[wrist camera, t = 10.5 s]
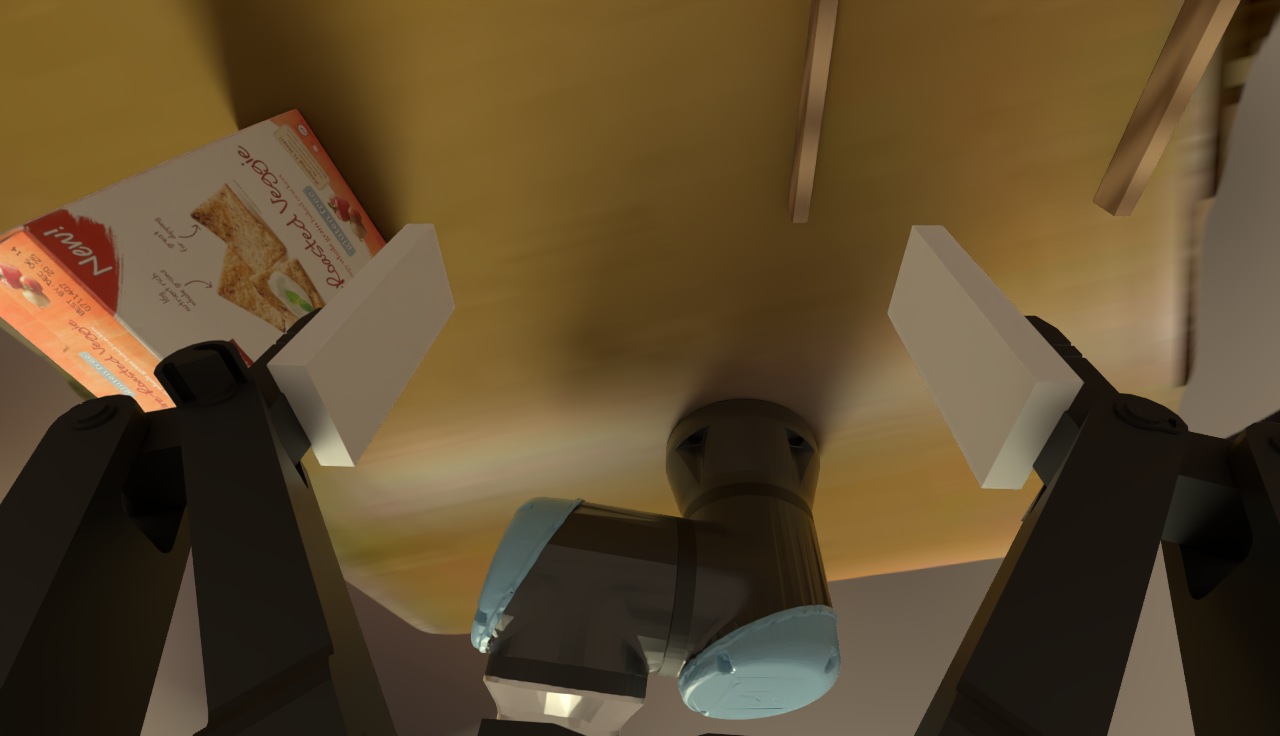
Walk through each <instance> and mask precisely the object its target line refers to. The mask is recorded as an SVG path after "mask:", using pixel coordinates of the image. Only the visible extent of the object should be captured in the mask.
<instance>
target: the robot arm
mask: <svg viewBox="0 0 1280 736" xmlns="http://www.w3.org/2000/svg"><path fill="white" fill-rule="evenodd" d="M454 309H455V304H454V301H453V297H452V293H451V289H450V285H449V282H448V278H447V274H446V270H445V266H444V263H443V259H442V255H441V251H440V247H439V244H438V240H437V236H436V232H435V228H434V225H433V224H406V225H405V226H404V227H403V228H402V229H401V230H400V231H399V232H398V233H397V234H396V235H395V236H394V237H393V238H392V239H391V240H390V241H389V242H388V243H387V244H386V245H385V246H384V247H383V248H382V249H381V250H380V251H379V252H378V253H377V254H376V255H375V256H374V257H373V258H372V259H371V260H370V261H369V262H368V263H367V264H366V265H365V266H364V267H363V268H362V269H361V270H360V271H359V272H358V273H357V274H356V275H355V276H354V277H353V278H352V279H351V280H350V281H349V282H348V283H347V284H346V285H345V286H344V287H343V288H342V289H341V290H340V291H339V292H338V293H337V294H336V295H335V296H334V297H333V298H332V299H331V300H330V301H329V303H328V304H327V305H326V306H325V307H319V308H317V309H315V310H314V311H312V312H310V313H308V314H307V315H305V316H303V317H301V318H300V319H298V320H297V321H296V322H295V323H294V324H293V325H292V326H291V327H290V328H289V329H288V330H287V331H286V332H287V334H283V335H282V336H281V337H280V338H279V339H278V340H277V341H276V344H273V345H272V346H271V347H270V348H269V349H268V350H267V351H265V352H264V353H263V354H262V355H261V356H260V357H259V358H258V359H257V360H256V361H255V362H254V363H253V364H252V365H251V366H250V367H249V368H248V367H247V365H246V363H245V362H244V360H243V358H242V356H241V355H240V353H239V351H238V349H237V348H236V346H235V345H234V344H233V343H232V342H228V341H224V340H213V341H205V342H201V343H196V344H192V345H190V346H187V347H185V348H182V349H179V350H177V351H176V352H174V353H172V354H170V355H169V356H167V357H165V358H164V359H163V360H162V361H161V362H160V363H159V364H158V365H157V366H156V368H155V370H154V373H153V374H154V375H155V377H156V378H157V380H158V381H159V382H160V384H161V385H162V387H163V388H164V390H165V391H166V392H167V394H168V395H169V397H170V398H171V399H172V401H173V402H174V404H175V405H176V407H172V408H167V409H161V410H156V411H150V412H144V410H143V409H142V408H141V406H140V405H139V404H138V402H137V401H136V400H135V399H134V398H133V397H131V396H130V395H123V394H116V395H108V396H103V397H100V398H96V399H90V400H87V401H85V402H82V403H83V404H78V405H76V406H74V407H72V408H71V409H70V410H69V411H67V412H66V413H64V414H63V415H61V416H60V417H58V419H57V420H56V421H55V422H54V423H53V424H52V425H51V426H50V427H49V429H48V430H47V432H46V434H45V435H44V437H43V438H42V440H41V441H40V443H39V444H38V446H37V448H36V449H35V451H34V452H33V454H32V456H31V457H30V459H29V460H28V462H27V463H26V465H25V466H24V468H23V470H22V471H21V473H20V474H19V476H18V477H17V479H16V481H15V482H14V484H13V485H12V487H11V488H10V490H9V492H8V493H7V495H6V497H5V498H4V499H3V501H2V503H1V504H0V736H140V734H141V730H142V727H143V723H144V719H145V715H146V712H147V708H148V704H149V701H150V696H151V693H152V689H153V686H154V682H155V678H156V675H157V671H158V667H159V663H160V659H161V656H162V652H163V648H164V645H165V641H166V637H167V634H168V630H169V626H170V623H171V619H172V615H173V611H174V608H175V603H176V600H177V597H178V593H179V589H180V585H181V582H182V578H183V574H184V571H185V567H186V563H187V559H188V556H189V552H190V548H191V547H192V556H193V566H194V577H195V586H196V596H197V606H198V616H199V626H200V636H201V646H202V655H203V664H204V675H205V685H206V694H207V705H208V724H207V726H206V727H205V728H203V729H202V730H200V731H198V732H197V733H195V734H193V736H398V735H397V733H396V730H395V728H394V724H393V722H392V719H391V716H390V713H389V710H388V707H387V704H386V701H385V698H384V695H383V692H382V690H381V687H380V684H379V681H378V678H377V675H376V672H375V669H374V666H373V663H372V660H371V657H370V654H369V652H368V648H367V646H366V643H365V640H364V637H363V634H362V631H361V628H360V625H359V622H358V619H357V616H356V613H355V610H354V608H353V605H352V602H351V599H350V596H349V593H348V591H347V588H346V584H345V581H344V578H343V575H342V572H341V570H340V567H339V564H338V561H337V558H336V555H335V552H334V549H333V546H332V543H331V540H330V537H329V534H328V532H327V529H326V526H325V523H324V520H323V517H322V514H321V511H320V508H319V505H318V502H317V499H316V496H315V494H314V491H313V488H312V485H311V482H310V479H309V476H308V473H307V470H306V469H305V467H304V465H303V463H302V462H301V460H300V459H301V458H302V457H303V455H304V454H305V453H306V451H307V450H308V449H309V447H310V446H311V448H312V450H313V452H314V453H315V455H316V457H317V459H318V461H319V463H320V464H321V465H324V466H353V467H355V465H356V464H357V462H358V461H359V459H360V457H361V456H362V454H363V453H364V451H365V450H366V448H367V446H368V445H369V443H370V442H371V440H372V438H373V437H374V435H375V434H376V432H377V431H378V429H379V427H380V426H381V424H382V423H383V421H384V420H385V418H386V416H387V415H388V413H389V412H390V410H391V409H392V407H393V405H394V404H395V402H396V401H397V399H398V398H399V396H400V394H401V393H402V391H403V390H404V388H405V386H406V385H407V383H408V382H409V380H410V379H411V377H412V375H413V374H414V372H415V371H416V369H417V368H418V366H419V364H420V363H421V361H422V360H423V358H424V357H425V355H426V353H427V352H428V350H429V349H430V347H431V346H432V344H433V342H434V341H435V339H436V338H437V336H438V334H439V333H440V331H441V330H442V328H443V327H444V325H445V323H446V322H447V320H448V319H449V317H450V316H451V314H452V312H453V311H454ZM887 314H888V316H889V318H890V320H891V322H892V324H893V326H894V327H895V329H896V331H897V333H898V335H899V337H900V339H901V340H902V342H903V344H904V346H905V348H906V350H907V352H908V353H909V355H910V357H911V359H912V361H913V363H914V365H915V366H916V368H917V370H918V372H919V374H920V376H921V378H922V379H923V381H924V383H925V385H926V387H927V389H928V391H929V392H930V394H931V396H932V398H933V400H934V402H935V403H936V405H937V407H938V409H939V411H940V413H941V415H942V416H943V418H944V420H945V422H946V424H947V426H948V428H949V429H950V431H951V433H952V435H953V437H954V439H955V441H956V442H957V444H958V446H959V448H960V450H961V452H962V454H963V455H964V457H965V459H966V461H967V463H968V465H969V467H970V468H971V470H972V472H973V474H974V476H975V478H976V479H977V481H978V483H979V485H980V487H981V488H993V489H1021V488H1022V487H1023V485H1024V483H1025V482H1026V480H1027V478H1028V476H1029V475H1030V473H1031V471H1032V470H1033V468H1034V469H1035V471H1036V472H1037V474H1038V475H1039V477H1040V478H1041V480H1042V481H1043V483H1044V485H1043V486H1042V488H1041V490H1040V491H1039V493H1038V494H1037V496H1036V498H1035V499H1034V501H1033V503H1032V504H1031V506H1030V507H1029V509H1028V511H1027V512H1026V514H1025V515H1024V517H1023V519H1022V520H1021V521H1023V523H1022V525H1021V527H1020V529H1019V531H1018V533H1017V535H1016V537H1015V539H1014V541H1013V543H1012V545H1011V547H1010V549H1009V551H1008V553H1007V555H1006V557H1005V559H1004V561H1003V563H1002V565H1001V567H1000V569H999V570H998V573H997V574H996V576H995V578H994V581H993V582H992V584H991V586H990V588H989V590H988V592H987V594H986V596H985V598H984V600H983V602H982V604H981V606H980V608H979V610H978V612H977V613H976V615H975V617H974V619H973V621H972V623H971V625H970V627H969V629H968V631H967V633H966V635H965V637H964V639H963V641H962V643H961V645H960V647H959V649H958V651H957V653H956V655H955V657H954V659H953V660H952V662H951V664H950V666H949V668H948V670H947V672H946V674H945V676H944V678H943V680H942V682H941V684H940V686H939V688H938V690H937V692H936V694H935V696H934V698H933V700H932V701H931V703H930V706H929V707H928V709H927V711H926V713H925V715H924V717H923V719H922V721H921V723H920V725H919V727H918V729H917V731H916V733H915V735H914V736H1107V734H1108V730H1109V726H1110V723H1111V719H1112V716H1113V712H1114V708H1115V705H1116V701H1117V697H1118V693H1119V690H1120V686H1121V683H1122V679H1123V675H1124V672H1125V668H1126V664H1127V661H1128V657H1129V653H1130V650H1131V646H1132V643H1133V639H1134V635H1135V632H1136V628H1137V624H1138V620H1139V617H1140V613H1141V610H1142V606H1143V602H1144V599H1145V595H1146V591H1147V588H1148V584H1149V580H1150V577H1151V573H1152V569H1153V566H1154V562H1155V559H1156V555H1157V551H1158V548H1159V544H1160V540H1161V544H1162V550H1163V556H1164V561H1165V567H1166V572H1167V578H1168V584H1169V590H1170V595H1171V601H1172V607H1173V612H1174V618H1175V624H1176V629H1177V635H1178V640H1179V647H1180V652H1181V658H1182V663H1183V669H1184V675H1185V681H1186V686H1187V692H1188V697H1189V703H1190V709H1191V715H1192V721H1193V726H1194V732H1195V736H1280V424H1279V423H1273V422H1258V423H1253V424H1251V425H1250V426H1248V427H1246V428H1245V429H1244V431H1243V432H1242V433H1241V434H1240V435H1239V436H1238V437H1237V439H1236V440H1235V441H1232V440H1227V439H1223V438H1218V437H1213V436H1208V435H1204V434H1199V433H1194V432H1190V431H1188V426H1187V425H1186V424H1185V423H1184V421H1183V420H1182V419H1181V418H1180V417H1179V416H1178V415H1177V414H1175V413H1174V412H1172V411H1171V410H1169V409H1168V408H1166V407H1165V406H1163V405H1161V404H1158V403H1156V402H1154V401H1152V400H1149V399H1147V398H1143V397H1139V396H1136V395H1132V394H1123V393H1119V392H1118V391H1117V390H1116V389H1115V388H1114V387H1113V386H1112V385H1111V384H1110V383H1109V382H1108V381H1107V380H1106V379H1105V378H1104V377H1103V376H1102V375H1101V374H1100V373H1099V371H1098V370H1097V369H1096V368H1095V367H1094V366H1093V365H1092V364H1091V363H1090V362H1089V361H1088V360H1087V359H1086V358H1082V354H1081V353H1080V352H1079V351H1078V350H1077V349H1076V348H1075V346H1071V342H1070V341H1069V340H1068V339H1067V338H1066V337H1065V336H1064V335H1063V334H1062V333H1061V332H1060V331H1059V330H1058V329H1057V328H1055V327H1054V326H1052V325H1050V324H1049V323H1047V322H1045V321H1044V320H1042V319H1040V318H1038V317H1037V316H1024V315H1023V314H1022V313H1021V312H1020V311H1019V310H1018V309H1017V308H1016V307H1015V305H1014V304H1013V303H1012V302H1011V301H1010V300H1009V299H1008V298H1007V297H1006V295H1005V294H1004V293H1003V292H1002V291H1001V290H1000V289H999V288H998V287H997V286H996V284H995V283H994V282H993V281H992V280H991V279H990V278H989V277H988V276H987V274H986V273H985V272H984V271H983V270H982V269H981V268H980V267H979V266H978V264H977V263H976V262H975V261H974V260H973V259H972V258H971V257H970V256H969V255H968V253H967V252H966V251H965V250H964V249H963V248H962V247H961V246H960V245H959V243H958V242H957V241H956V240H955V239H954V238H953V237H952V236H951V235H950V233H949V232H948V231H947V230H946V229H945V228H944V227H943V226H942V225H912V229H911V232H910V236H909V239H908V243H907V246H906V250H905V253H904V257H903V260H902V264H901V267H900V271H899V274H898V278H897V281H896V285H895V288H894V292H893V295H892V299H891V302H890V306H889V309H888V313H887ZM819 469H820V459H819V453H818V449H817V445H816V441H815V438H814V435H813V433H812V431H811V429H810V428H809V426H808V425H807V424H806V423H805V422H804V421H803V420H802V419H801V418H800V417H799V416H798V415H796V414H795V413H793V412H792V411H790V410H788V409H786V408H784V407H781V406H779V405H776V404H773V403H769V402H765V401H759V400H745V399H744V400H730V401H723V402H719V403H715V404H712V405H709V406H706V407H704V408H701V409H699V410H697V411H695V412H694V413H692V414H690V415H689V416H688V417H686V418H685V419H684V420H683V421H681V422H680V423H679V424H678V426H677V427H676V428H675V429H674V431H673V432H672V434H671V436H670V438H669V441H668V444H667V449H666V473H667V478H668V481H669V484H670V486H671V489H672V492H673V494H674V497H675V499H676V502H677V505H678V507H679V510H680V513H681V515H682V518H679V517H674V516H668V515H662V514H656V513H649V512H643V511H637V510H631V509H625V508H619V507H613V506H607V505H601V504H595V503H589V502H585V500H584V499H580V498H579V499H576V500H567V499H558V498H549V497H536V498H533V499H531V500H529V501H527V502H525V503H524V504H523V505H522V506H521V507H520V508H519V509H518V510H517V512H516V513H515V514H514V516H513V518H512V519H511V521H510V523H509V525H508V526H507V528H506V530H505V532H504V534H503V536H502V539H501V541H500V543H499V545H498V548H497V550H496V552H495V555H494V557H493V560H492V562H491V565H490V568H489V570H488V573H487V576H486V579H485V582H484V585H483V588H482V591H481V594H480V598H479V601H478V609H477V612H476V615H475V618H474V621H473V625H472V631H471V641H472V644H473V646H474V647H476V648H478V649H479V650H480V652H482V653H488V651H489V657H488V661H487V665H486V670H485V674H484V679H483V681H484V682H485V684H486V686H487V687H488V689H489V691H490V693H491V695H492V697H493V698H494V700H495V702H496V705H497V709H498V716H497V719H482V721H481V725H480V728H479V732H478V736H619V735H620V729H621V727H622V726H623V724H624V723H625V722H626V721H627V720H628V719H629V718H630V717H631V716H632V715H633V714H634V713H635V712H636V711H637V710H638V709H639V708H640V707H641V706H643V705H644V703H645V696H646V687H647V678H648V675H649V674H651V675H659V676H666V677H673V678H678V679H679V680H678V688H679V691H680V693H681V696H682V699H683V701H684V703H685V704H686V705H687V706H688V707H689V708H690V709H692V710H693V711H700V712H701V713H702V714H703V715H705V716H709V717H713V718H722V719H753V718H762V717H768V716H773V715H778V714H782V713H785V712H789V711H792V710H795V709H798V708H800V707H803V706H805V705H807V704H809V703H811V702H813V701H815V700H817V699H818V698H820V697H821V696H822V695H824V694H825V693H826V692H827V691H828V690H829V689H830V688H831V687H832V686H833V684H834V683H835V681H836V679H837V677H838V675H839V672H840V666H841V656H840V649H839V641H838V634H837V626H836V625H837V615H836V612H835V611H834V610H833V606H832V602H831V597H830V593H829V588H828V583H827V579H826V574H825V570H824V565H823V561H822V556H821V552H820V547H819V543H818V538H817V533H816V529H815V525H814V520H813V515H812V508H813V502H814V497H815V492H816V486H817V481H818V475H819ZM699 736H741V735H727V734H711V733H707V734H703V735H699Z"/></svg>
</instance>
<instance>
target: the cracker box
mask: <svg viewBox="0 0 1280 736" xmlns="http://www.w3.org/2000/svg"><path fill="white" fill-rule="evenodd" d="M385 245H386V242H385V241H384V239H383V238H382V237H381V235H380V234H379V232H378V231H377V229H376V227H375V226H374V224H373V223H372V221H371V220H370V219H369V217H368V215H367V214H366V212H365V211H364V209H363V208H362V206H361V205H360V203H359V202H358V200H357V199H356V197H355V196H354V194H353V193H352V191H351V189H350V188H349V186H348V185H347V183H346V182H345V180H344V179H343V177H342V176H341V174H340V173H339V171H338V170H337V168H336V167H335V165H334V164H333V162H332V161H331V159H330V158H329V156H328V155H327V153H326V152H325V150H324V148H323V147H322V145H321V144H320V143H319V141H318V139H317V138H316V136H315V135H314V133H313V132H312V130H311V129H310V127H309V126H308V124H307V122H306V121H305V120H304V118H303V117H302V115H301V114H300V112H299V111H298V110H297V109H293V110H291V111H288V112H285V113H283V114H280V115H278V116H275V117H272V118H270V119H267V120H265V121H262V122H260V123H257V124H254V125H252V126H249V127H247V128H245V129H242V130H240V131H237V132H235V133H233V134H230V135H228V136H225V137H223V138H221V139H218V140H216V141H214V142H211V143H209V144H206V145H204V146H202V147H199V148H197V149H194V150H192V151H189V152H187V153H185V154H182V155H180V156H178V157H175V158H173V159H171V160H168V161H166V162H163V163H161V164H159V165H157V166H154V167H152V168H150V169H147V170H145V171H143V172H140V173H138V174H136V175H133V176H131V177H129V178H126V179H124V180H122V181H119V182H117V183H114V184H112V185H110V186H108V187H105V188H103V189H101V190H99V191H97V192H94V193H92V194H90V195H87V196H85V197H83V198H81V199H78V200H76V201H74V202H71V203H69V204H67V205H65V206H62V207H60V208H58V209H55V210H53V211H51V212H49V213H46V214H44V215H42V216H39V217H37V218H35V219H32V220H30V221H28V222H26V223H23V224H21V225H19V226H17V227H15V228H13V229H11V230H8V231H6V232H4V233H2V234H0V316H1V317H2V318H3V319H4V320H5V321H7V322H8V323H9V324H10V325H12V326H13V327H14V328H15V329H16V330H18V331H19V332H20V333H21V334H22V335H24V336H25V337H26V338H27V339H28V340H30V341H31V342H32V343H33V344H34V345H36V346H37V347H38V348H39V349H40V350H42V351H43V352H44V353H45V354H46V355H48V356H49V357H50V358H51V359H52V360H54V361H55V362H56V363H57V364H58V365H60V366H61V367H62V368H63V369H64V370H66V371H67V372H68V373H69V374H70V375H72V376H73V377H74V378H75V379H76V380H78V381H79V382H80V383H81V384H82V385H84V386H85V387H86V388H87V389H88V390H89V391H91V392H92V393H93V394H94V395H95V396H97V397H98V398H100V397H103V396H108V395H116V394H123V395H130V396H131V397H133V398H134V399H135V400H136V401H137V402H138V404H139V405H140V406H141V408H142V409H143V410H144V412H150V411H156V410H161V409H167V408H172V407H176V405H175V404H174V402H173V401H172V399H171V398H170V397H169V395H168V394H167V392H166V391H165V390H164V388H163V387H162V385H161V384H160V382H159V381H158V380H157V378H156V377H155V375H154V374H153V373H154V370H155V368H156V366H157V365H158V364H159V363H160V362H161V361H162V360H163V359H164V358H165V357H167V356H169V355H170V354H172V353H174V352H176V351H177V350H179V349H182V348H185V347H187V346H190V345H192V344H196V343H201V342H205V341H213V340H224V341H228V342H232V343H233V344H234V345H235V346H236V348H237V349H238V351H239V353H240V355H241V356H242V358H243V360H244V362H245V363H246V365H247V367H248V368H249V367H250V366H251V365H252V364H253V363H254V362H255V361H256V360H257V359H258V358H259V357H260V356H261V355H262V354H263V353H264V352H265V351H267V350H268V349H269V348H270V347H271V346H272V345H273V344H276V341H277V340H278V339H279V338H280V337H281V336H282V335H283V334H287V332H286V331H287V330H288V329H289V328H290V327H291V326H292V325H293V324H294V323H295V322H296V321H297V320H298V319H300V318H301V317H303V316H305V315H307V314H308V313H310V312H312V311H314V310H315V309H317V308H319V307H325V306H326V305H327V304H328V303H329V301H330V300H331V299H332V298H333V297H334V296H335V295H336V294H337V293H338V292H339V291H340V290H341V289H342V288H343V287H344V286H345V285H346V284H347V283H348V282H349V281H350V280H351V279H352V278H353V277H354V276H355V275H356V274H357V273H358V272H359V271H360V270H361V269H362V268H363V267H364V266H365V265H366V264H367V263H368V262H369V261H370V260H371V259H372V258H373V257H374V256H375V255H376V254H377V253H378V252H379V251H380V250H381V249H382V248H383V247H384V246H385Z"/></svg>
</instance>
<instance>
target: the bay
mask: <svg viewBox="0 0 1280 736" xmlns="http://www.w3.org/2000/svg"><path fill="white" fill-rule="evenodd" d="M1239 2H1240V0H1186V1H1185V3H1184V5H1183V7H1182V9H1181V11H1180V14H1179V16H1178V18H1177V20H1176V22H1175V24H1174V27H1173V29H1172V31H1171V33H1170V35H1169V37H1168V40H1167V42H1166V44H1165V46H1164V48H1163V50H1162V53H1161V55H1160V57H1159V59H1158V61H1157V63H1156V66H1155V68H1154V70H1153V72H1152V74H1151V77H1150V79H1149V81H1148V83H1147V85H1146V87H1145V90H1144V92H1143V94H1142V96H1141V98H1140V100H1139V103H1138V105H1137V107H1136V109H1135V111H1134V113H1133V116H1132V118H1131V120H1130V122H1129V124H1128V126H1127V129H1126V131H1125V133H1124V135H1123V137H1122V139H1121V142H1120V144H1119V146H1118V148H1117V150H1116V152H1115V155H1114V157H1113V159H1112V161H1111V163H1110V165H1109V168H1108V170H1107V172H1106V174H1105V176H1104V178H1103V181H1102V183H1101V185H1100V187H1099V189H1098V191H1097V194H1096V196H1095V198H1094V200H1093V202H1094V203H1095V204H1097V205H1098V206H1100V207H1101V208H1103V209H1104V210H1106V211H1107V212H1109V213H1110V214H1112V215H1113V216H1130V215H1131V213H1132V211H1133V209H1134V207H1135V205H1136V203H1137V202H1138V200H1139V198H1140V196H1141V194H1142V192H1143V190H1144V188H1145V186H1146V184H1147V182H1148V180H1149V178H1150V176H1151V174H1152V172H1153V170H1154V168H1155V166H1156V164H1157V162H1158V160H1159V159H1160V157H1161V155H1162V153H1163V151H1164V149H1165V147H1166V145H1167V143H1168V141H1169V139H1170V137H1171V135H1172V133H1173V131H1174V129H1175V127H1176V125H1177V123H1178V121H1179V119H1180V118H1181V116H1182V114H1183V112H1184V110H1185V108H1186V106H1187V104H1188V102H1189V100H1190V98H1191V96H1192V94H1193V92H1194V90H1195V88H1196V86H1197V84H1198V82H1199V80H1200V78H1201V76H1202V75H1203V73H1204V71H1205V69H1206V67H1207V65H1208V63H1209V61H1210V59H1211V57H1212V55H1213V53H1214V51H1215V49H1216V47H1217V45H1218V43H1219V41H1220V39H1221V37H1222V35H1223V33H1224V32H1225V30H1226V28H1227V26H1228V24H1229V22H1230V20H1231V18H1232V16H1233V14H1234V12H1235V10H1236V8H1237V6H1238V4H1239ZM837 7H838V0H812V3H811V12H810V21H809V29H808V38H807V47H806V55H805V64H804V73H803V82H802V90H801V99H800V108H799V116H798V125H797V134H796V143H795V151H794V160H793V169H792V177H791V186H790V195H789V204H788V211H789V214H790V216H791V219H792V222H793V223H808V215H809V208H810V201H811V194H812V187H813V179H814V172H815V165H816V158H817V151H818V144H819V136H820V129H821V122H822V115H823V108H824V101H825V93H826V86H827V79H828V72H829V65H830V58H831V50H832V43H833V36H834V29H835V22H836V15H837Z"/></svg>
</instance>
